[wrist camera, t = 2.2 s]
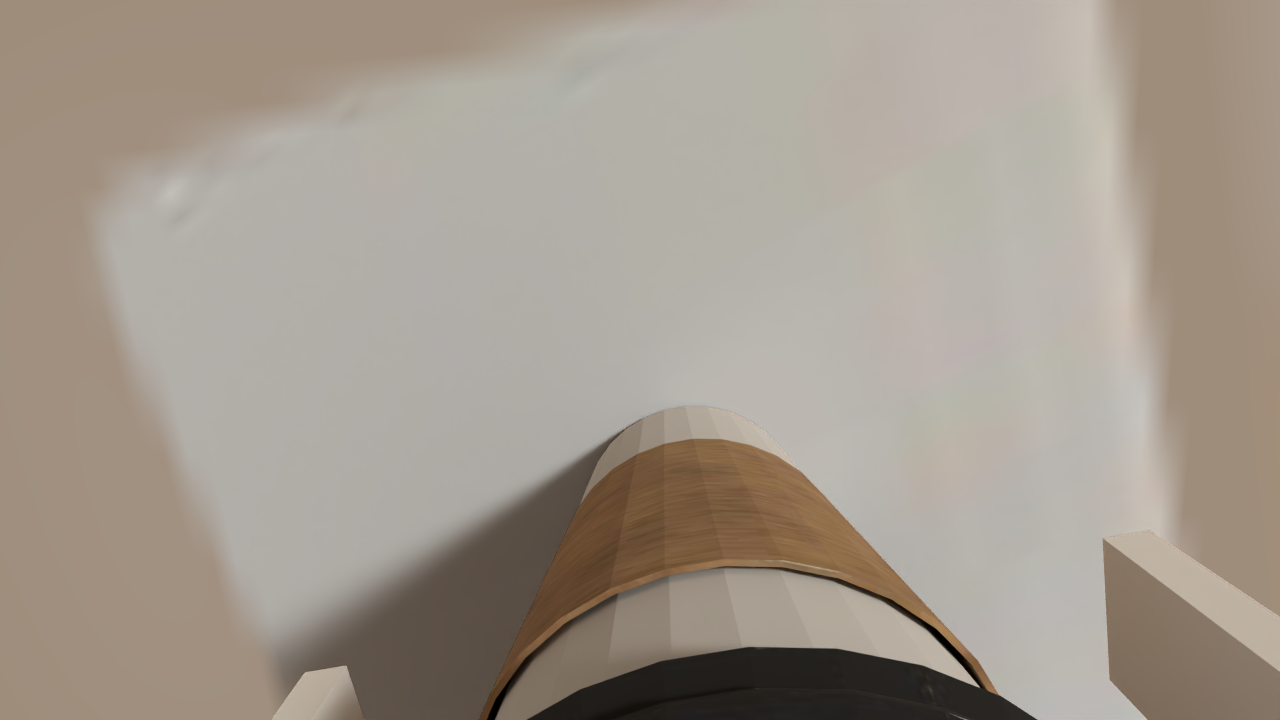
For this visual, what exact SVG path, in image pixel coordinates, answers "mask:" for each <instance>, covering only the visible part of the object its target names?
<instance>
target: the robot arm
mask: <svg viewBox="0 0 1280 720" xmlns="http://www.w3.org/2000/svg"><path fill="white" fill-rule="evenodd" d="M1103 553H1104V574H1105V594H1106V614H1107V634H1108V654H1109V674H1110V680H1111V681H1112V683H1113V684H1114V685H1115V686H1116V687H1117V688H1118V689H1119V690H1120V691H1121V692H1122V693H1123V694H1124V695H1125V696H1126V697H1127V698H1128V699H1129V700H1130V701H1131V702H1132V704H1133V705H1134V706H1135V707H1136V708H1137V709H1138V710H1139V711H1140V712H1141V713H1142V714H1143V715H1144V716H1145V717H1146V718H1147V719H1148V720H1280V617H1279V616H1278V615H1276V614H1274V613H1273V612H1272V611H1270V610H1268V609H1267V608H1265V607H1264V606H1263V605H1261V604H1259V603H1258V602H1256V601H1255V600H1254V599H1252V598H1250V597H1249V596H1248V595H1246V594H1245V593H1243V592H1241V591H1240V590H1239V589H1237V588H1236V587H1234V586H1232V585H1231V584H1230V583H1228V582H1226V581H1225V580H1224V579H1222V578H1220V577H1219V576H1218V575H1216V574H1215V573H1213V572H1212V571H1210V570H1208V569H1207V568H1205V567H1204V566H1203V565H1201V564H1200V563H1198V562H1197V561H1195V560H1194V559H1192V558H1191V557H1189V556H1188V555H1186V554H1185V553H1183V552H1182V551H1180V550H1179V549H1177V548H1176V547H1174V546H1173V545H1171V544H1170V543H1168V542H1167V541H1165V540H1164V539H1162V538H1161V537H1159V536H1158V535H1156V534H1155V533H1153V532H1152V531H1150V530H1148V531H1142V532H1136V533H1131V534H1125V535H1119V536H1113V537H1107V538H1103ZM271 720H364V717H363V714H362V711H361V708H360V705H359V702H358V699H357V696H356V693H355V690H354V687H353V684H352V681H351V678H350V675H349V672H348V669H347V666H340V667H334V668H328V669H322V670H316V671H310V672H305V673H304V674H303V676H302V677H301V678H300V680H299V681H298V683H297V684H296V685H295V687H294V688H293V690H292V691H291V692H290V694H289V695H288V697H287V698H286V699H285V701H284V702H283V703H282V705H281V706H280V708H279V709H278V710H277V712H276V713H275V715H274V716H273V717H272V719H271Z"/></svg>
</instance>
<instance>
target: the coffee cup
mask: <svg viewBox="0 0 1280 720" xmlns="http://www.w3.org/2000/svg"><path fill="white" fill-rule="evenodd" d="M479 720H1037V719H1035V718H1034V717H1032V716H1031V715H1029V714H1028V713H1026V712H1024V711H1023V710H1021V709H1020V708H1018V707H1017V706H1015V705H1014V704H1012V703H1011V702H1009V701H1007V700H1006V699H1004V698H1003V697H1001V696H999V694H998V693H997V691H996V690H995V688H994V686H993V685H992V683H991V681H990V680H989V678H988V677H987V675H986V673H985V672H984V670H983V668H982V667H981V665H980V664H979V662H978V661H977V660H976V658H975V657H974V656H973V655H972V654H971V653H970V652H969V651H968V650H967V649H966V648H965V647H964V646H963V644H962V643H961V642H960V641H959V640H958V639H957V638H956V637H955V636H954V635H953V634H952V633H951V632H950V630H949V629H948V628H947V627H946V626H945V625H944V624H943V623H942V622H941V621H940V620H939V619H938V618H937V617H936V615H935V614H934V613H933V612H932V611H931V610H930V609H929V608H928V607H927V606H926V605H925V604H924V603H923V601H922V600H921V599H920V598H919V597H918V596H917V595H916V594H915V593H914V592H913V591H912V590H911V589H910V588H909V586H908V585H907V584H906V583H905V582H904V581H903V580H902V579H901V578H900V577H899V576H898V575H897V574H896V572H895V571H894V570H893V569H892V568H891V567H890V566H889V565H888V564H887V563H886V562H885V561H884V560H883V559H882V557H881V556H880V555H879V554H878V553H877V552H876V551H875V550H874V549H873V548H872V547H871V546H870V545H869V543H868V542H867V541H866V540H865V539H864V538H863V537H862V536H861V535H860V534H859V533H858V532H857V531H856V530H855V528H854V527H853V526H852V525H851V524H850V523H849V522H848V521H847V520H846V519H845V518H844V517H843V516H842V514H841V513H840V512H839V511H838V510H837V509H836V508H835V507H834V506H833V505H832V504H831V503H830V502H829V501H828V499H827V498H826V497H825V496H824V495H823V494H822V493H821V492H820V491H819V490H818V489H817V488H816V487H815V486H814V485H813V484H812V483H811V482H810V481H809V480H808V479H807V478H806V476H805V475H804V474H803V473H802V472H801V471H800V470H799V469H798V467H797V466H796V465H795V464H794V463H793V461H792V460H791V459H790V458H789V457H788V455H787V454H786V453H785V452H784V451H783V449H782V448H781V447H780V446H779V445H778V444H777V443H776V442H775V441H774V440H773V439H772V438H771V437H770V436H769V435H768V434H767V433H766V432H765V431H764V430H762V429H761V428H759V427H758V426H756V425H755V424H753V423H752V422H750V421H749V420H747V419H745V418H743V417H740V416H738V415H736V414H733V413H731V412H728V411H725V410H720V409H715V408H710V407H695V406H684V407H679V408H673V409H667V410H663V411H660V412H658V413H655V414H653V415H650V416H647V417H645V418H643V419H641V420H640V421H638V422H636V423H635V424H633V425H632V426H630V427H628V428H627V429H625V430H624V431H623V432H622V433H621V434H620V435H619V436H618V437H617V438H616V439H615V440H614V441H612V442H611V444H610V445H609V446H608V448H607V449H606V451H605V452H604V453H603V455H602V456H601V458H600V459H599V461H598V463H597V465H596V467H595V469H594V472H593V474H592V476H591V479H590V481H589V483H588V486H587V488H586V490H585V493H584V495H583V498H582V501H581V503H580V506H579V507H578V509H577V510H576V512H575V514H574V516H573V519H572V521H571V523H570V525H569V527H568V529H567V531H566V534H565V536H564V538H563V540H562V542H561V544H560V546H559V548H558V551H557V553H556V555H555V557H554V559H553V561H552V563H551V566H550V568H549V570H548V572H547V574H546V576H545V578H544V580H543V583H542V585H541V587H540V589H539V591H538V593H537V595H536V597H535V600H534V602H533V604H532V606H531V608H530V610H529V612H528V615H527V617H526V619H525V621H524V623H523V625H522V627H521V629H520V632H519V634H518V636H517V638H516V640H515V642H514V644H513V647H512V649H511V651H510V653H509V655H508V657H507V659H506V661H505V664H504V666H503V668H502V670H501V672H500V674H499V676H498V679H497V681H496V683H495V685H494V687H493V689H492V691H491V693H490V696H489V698H488V700H487V702H486V705H485V707H484V709H483V712H482V714H481V716H480V719H479Z"/></svg>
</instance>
